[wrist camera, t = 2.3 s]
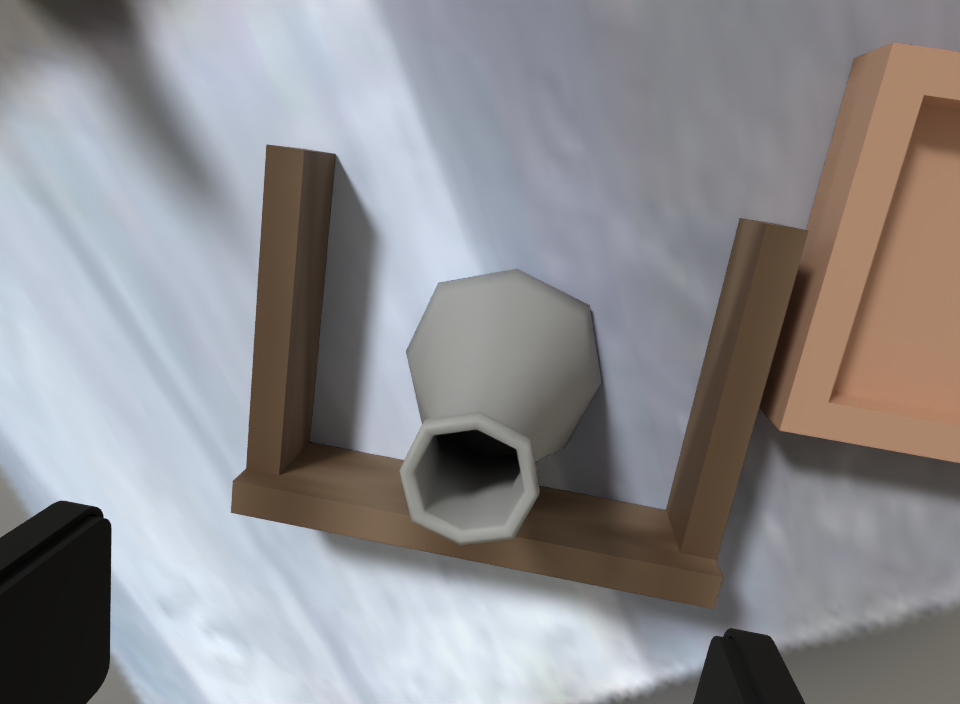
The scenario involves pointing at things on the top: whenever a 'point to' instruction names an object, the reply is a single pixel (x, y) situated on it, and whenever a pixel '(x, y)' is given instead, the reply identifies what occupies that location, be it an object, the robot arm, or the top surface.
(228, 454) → the top surface
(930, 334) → the tray
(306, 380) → the bay
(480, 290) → the flask
